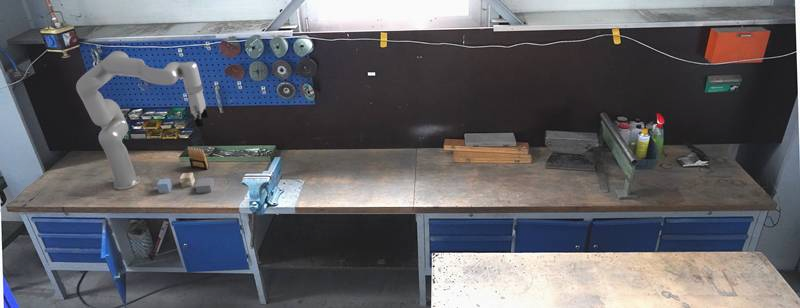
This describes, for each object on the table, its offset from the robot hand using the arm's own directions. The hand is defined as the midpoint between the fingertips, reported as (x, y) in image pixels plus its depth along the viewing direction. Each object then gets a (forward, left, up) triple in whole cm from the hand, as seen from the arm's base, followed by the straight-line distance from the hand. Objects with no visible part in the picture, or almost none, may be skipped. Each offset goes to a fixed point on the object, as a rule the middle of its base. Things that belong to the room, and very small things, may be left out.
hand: (202, 121), depth 265 cm
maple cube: (-13, -6, -31) cm, 33 cm away
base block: (-3, -12, -31) cm, 33 cm away
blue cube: (-23, -10, -31) cm, 39 cm away
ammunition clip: (-11, +10, -31) cm, 34 cm away
